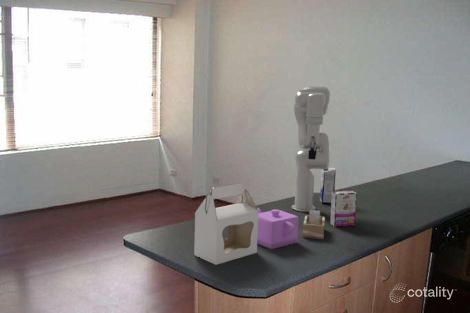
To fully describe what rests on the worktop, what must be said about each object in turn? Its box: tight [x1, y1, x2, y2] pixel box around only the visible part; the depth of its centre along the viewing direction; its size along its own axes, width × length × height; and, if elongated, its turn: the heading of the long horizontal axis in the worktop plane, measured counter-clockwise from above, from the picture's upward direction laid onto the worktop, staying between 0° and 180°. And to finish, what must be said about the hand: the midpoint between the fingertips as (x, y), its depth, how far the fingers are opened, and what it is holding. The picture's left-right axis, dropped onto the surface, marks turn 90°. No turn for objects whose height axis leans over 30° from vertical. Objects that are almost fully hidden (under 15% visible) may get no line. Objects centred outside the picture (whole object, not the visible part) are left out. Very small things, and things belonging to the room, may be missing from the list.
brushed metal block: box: [308, 209, 321, 225], centre depth 233 cm, size 4×4×9 cm
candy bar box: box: [329, 190, 358, 228], centre depth 247 cm, size 11×5×16 cm, turn 105°
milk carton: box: [319, 166, 337, 205], centre depth 288 cm, size 7×7×20 cm
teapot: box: [257, 207, 300, 250], centre depth 220 cm, size 15×25×14 cm, turn 38°
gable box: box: [193, 182, 258, 266], centre depth 202 cm, size 22×13×28 cm, turn 133°
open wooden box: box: [302, 214, 326, 240], centre depth 233 cm, size 15×9×6 cm, turn 169°
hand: (312, 157), depth 239 cm, fingers open, 9 cm apart
